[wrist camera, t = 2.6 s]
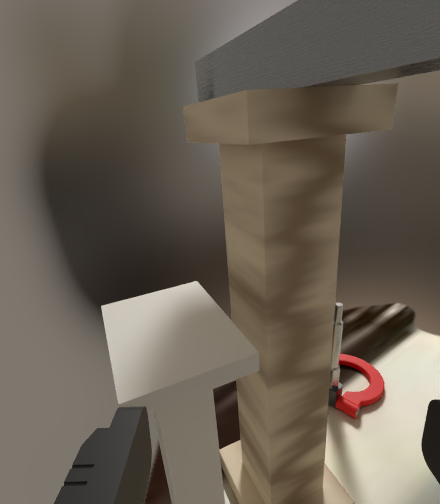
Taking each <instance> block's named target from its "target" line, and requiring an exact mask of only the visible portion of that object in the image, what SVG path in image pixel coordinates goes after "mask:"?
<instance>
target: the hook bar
mask: <svg viewBox="0 0 440 504" xmlns="http://www.w3.org/2000/svg"><path fill="white" fill-rule="evenodd" d="M195 68H196V79H197V88H198V89H197V90H198V100H199V102H203V101H207V100H210V99H214V98H218V97H222V96H225V95H229V94H233V93H237V92H240V91H244V90H254V89H278V88H302V87H326V86H350V85H361V84H366V83H372V82H377V81H383V80H388V79H394V78H399V77H405V76H411V75H416V74H422V73H427V72H433V71H438V70H440V0H298V1H296V2H294V3H293V4H291V5H289V6H288V7H286V8H284V9H283V10H281V11H279V12H278V13H276V14H275V15H273V16H271V17H270V18H268V19H267V20H264V21H263V22H261V23H260V24H258V25H256V26H254V27H253V28H251V29H249V30H248V31H246V32H245V33H243V34H241V35H240V36H238V37H236V38H235V39H233V40H231V41H230V42H228V43H226V44H225V45H223V46H221V47H220V48H218V49H216V50H215V51H213V52H211V53H210V54H208V55H206V56H205V57H203V58H201V59H200V60H198V61H196V62H195Z"/></svg>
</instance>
